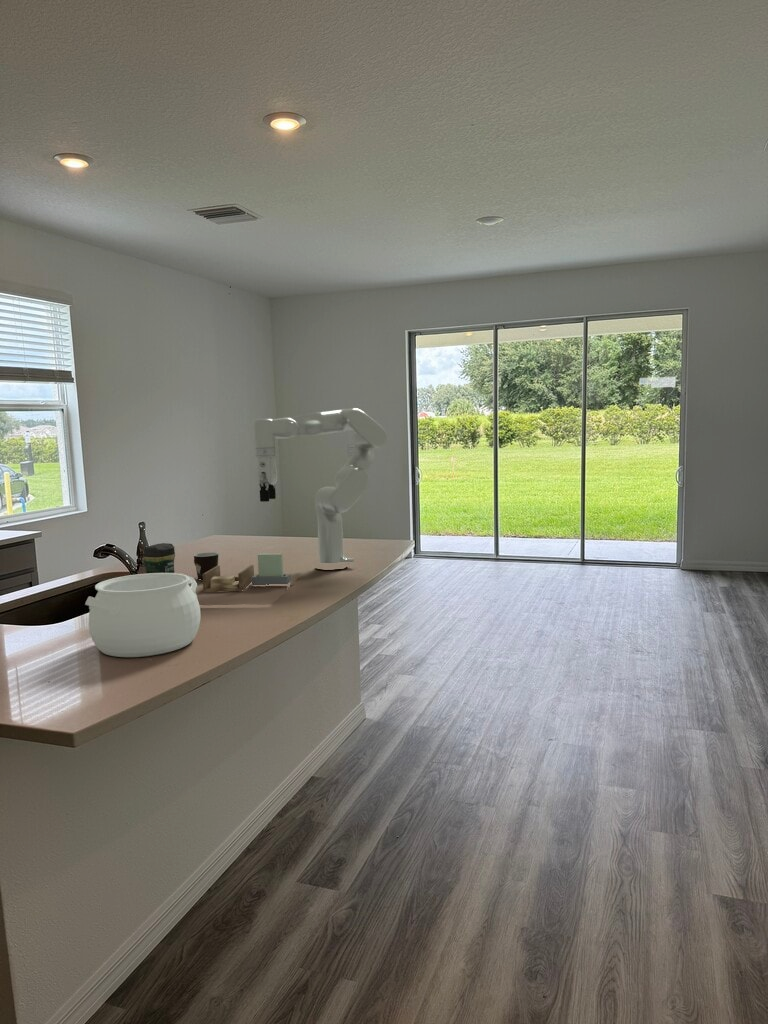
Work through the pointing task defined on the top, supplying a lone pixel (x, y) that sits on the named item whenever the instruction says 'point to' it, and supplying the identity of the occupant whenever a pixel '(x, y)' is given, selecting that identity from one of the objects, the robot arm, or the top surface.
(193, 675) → the top surface
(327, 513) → the robot arm
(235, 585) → the offcut low
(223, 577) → the offcut top
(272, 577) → the holder
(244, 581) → the rack
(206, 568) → the coffee mug
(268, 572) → the board
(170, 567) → the coffee jar
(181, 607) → the pot
